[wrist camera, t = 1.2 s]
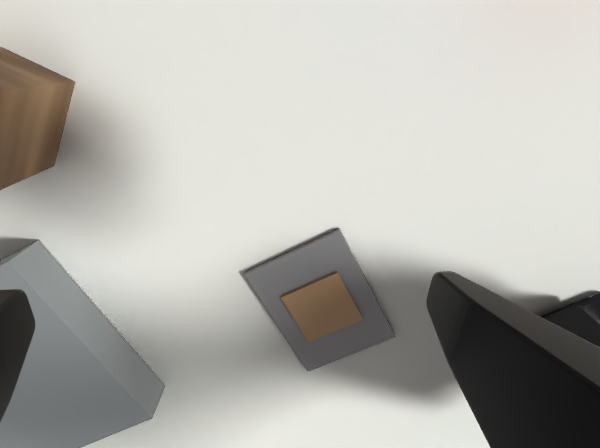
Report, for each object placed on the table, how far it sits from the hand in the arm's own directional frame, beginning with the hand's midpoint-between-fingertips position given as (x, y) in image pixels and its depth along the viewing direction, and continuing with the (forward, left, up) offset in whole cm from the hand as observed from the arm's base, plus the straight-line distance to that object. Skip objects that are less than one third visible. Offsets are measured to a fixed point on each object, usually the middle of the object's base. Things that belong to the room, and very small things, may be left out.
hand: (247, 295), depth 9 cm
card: (-9, +2, -12) cm, 15 cm away
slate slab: (-4, +20, -12) cm, 23 cm away
